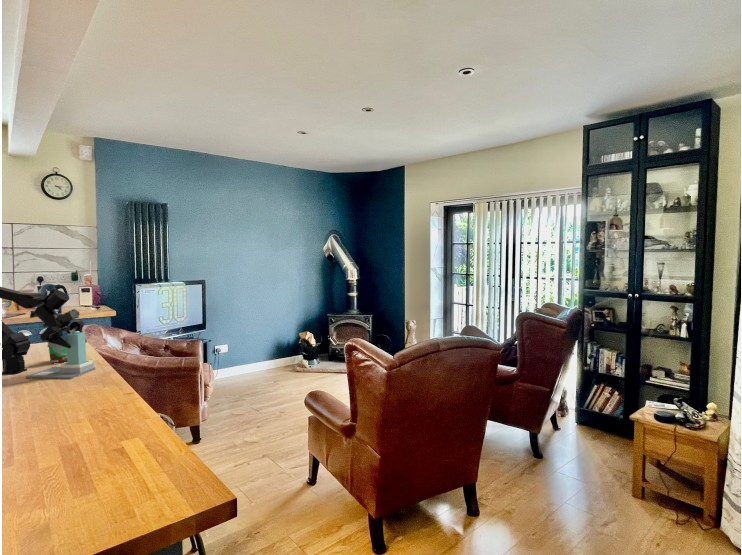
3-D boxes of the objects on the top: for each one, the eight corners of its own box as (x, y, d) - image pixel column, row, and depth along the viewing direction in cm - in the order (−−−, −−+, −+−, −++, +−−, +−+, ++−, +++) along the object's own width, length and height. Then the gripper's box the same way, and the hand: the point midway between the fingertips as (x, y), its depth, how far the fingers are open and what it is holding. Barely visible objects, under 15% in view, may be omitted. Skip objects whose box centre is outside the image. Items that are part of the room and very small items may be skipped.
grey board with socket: (25, 378, 170) (25, 368, 170) (53, 368, 184) (53, 359, 184) (71, 378, 169) (70, 368, 169) (95, 369, 183) (94, 359, 183)
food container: (62, 365, 190) (61, 342, 189) (48, 365, 190) (47, 342, 189) (81, 358, 202) (80, 336, 202) (68, 358, 202) (67, 336, 202)
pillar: (67, 366, 176) (66, 332, 175) (75, 363, 180) (74, 330, 180) (78, 366, 176) (77, 332, 175) (86, 363, 180) (85, 330, 180)
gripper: (46, 306, 167) (76, 335, 168) (79, 301, 186) (106, 327, 187) (26, 327, 168) (56, 355, 169) (61, 319, 187) (88, 345, 187)
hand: (78, 345), depth 178 cm, fingers open, 9 cm apart
